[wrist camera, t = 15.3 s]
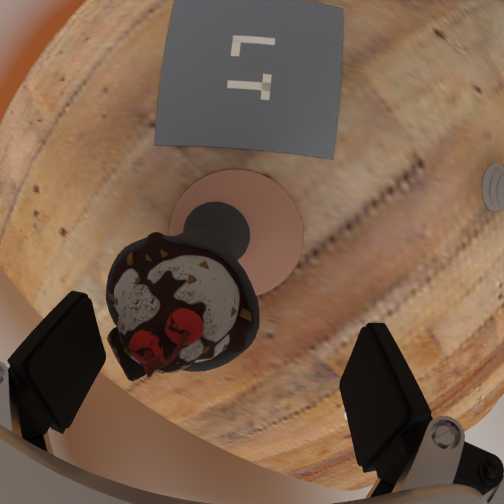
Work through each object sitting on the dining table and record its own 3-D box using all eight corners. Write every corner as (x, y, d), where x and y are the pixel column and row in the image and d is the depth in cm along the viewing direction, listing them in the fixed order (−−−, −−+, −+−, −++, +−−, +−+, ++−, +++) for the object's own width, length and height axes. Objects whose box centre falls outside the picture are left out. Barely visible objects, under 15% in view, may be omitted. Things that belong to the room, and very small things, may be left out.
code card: (176, -3, 14) (175, -4, 14) (342, 9, 14) (343, 8, 14) (155, 145, 19) (154, 145, 18) (332, 159, 19) (333, 159, 19)
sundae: (259, 185, 19) (245, 308, 5) (263, 274, 21) (260, 466, 7) (167, 192, 19) (6, 297, 5) (179, 276, 22) (93, 440, 8)
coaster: (173, 165, 19) (170, 166, 18) (310, 176, 19) (312, 177, 19) (173, 287, 23) (170, 291, 22) (291, 297, 23) (292, 303, 22)
